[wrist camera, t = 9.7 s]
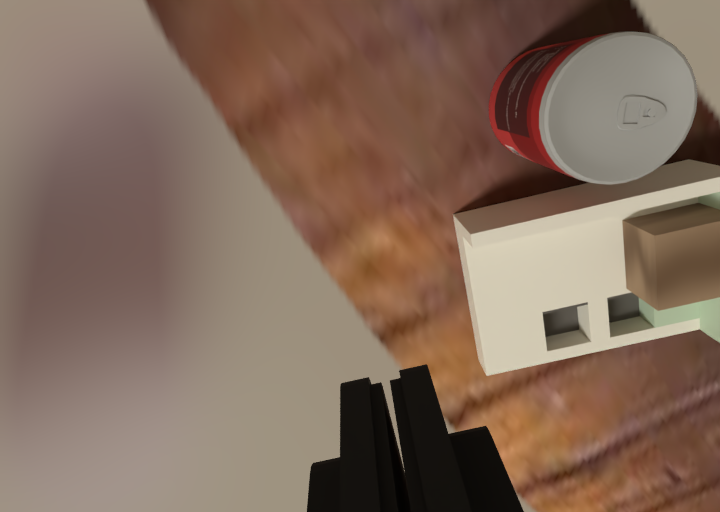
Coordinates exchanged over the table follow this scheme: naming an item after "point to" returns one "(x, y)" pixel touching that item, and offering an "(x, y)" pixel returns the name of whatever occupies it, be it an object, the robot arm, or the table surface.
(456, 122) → the table surface
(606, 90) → the canned food
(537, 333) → the trap box
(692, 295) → the block
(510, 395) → the table surface
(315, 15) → the table surface
